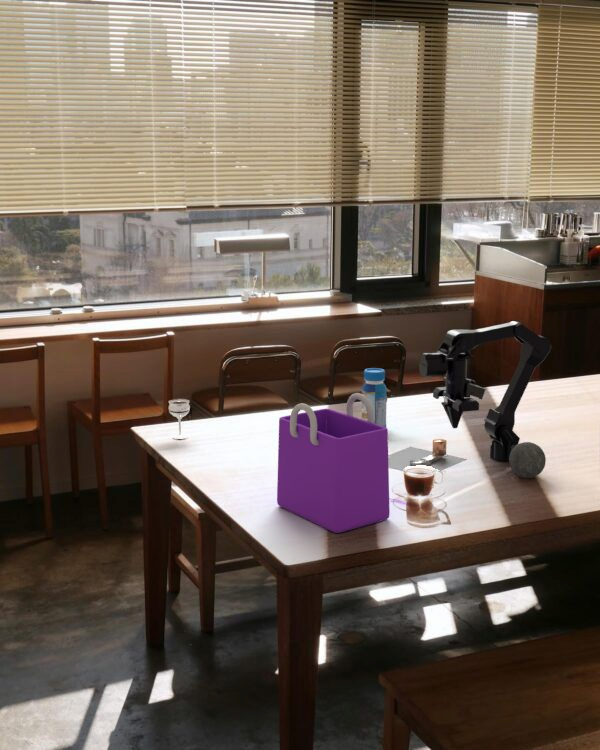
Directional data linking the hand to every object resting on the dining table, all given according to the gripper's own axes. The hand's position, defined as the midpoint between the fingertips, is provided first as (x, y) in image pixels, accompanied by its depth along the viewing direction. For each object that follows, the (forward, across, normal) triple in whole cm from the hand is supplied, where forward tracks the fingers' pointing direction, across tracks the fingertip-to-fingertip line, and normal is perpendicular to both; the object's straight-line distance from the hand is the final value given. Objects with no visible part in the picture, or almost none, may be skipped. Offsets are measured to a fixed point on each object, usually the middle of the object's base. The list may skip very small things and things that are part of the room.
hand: (454, 428), depth 293 cm
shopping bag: (+12, -25, +45) cm, 53 cm away
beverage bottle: (+12, +44, +8) cm, 46 cm away
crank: (+11, +4, +6) cm, 13 cm away
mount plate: (+12, +6, +9) cm, 16 cm away
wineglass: (+12, +54, +70) cm, 89 cm away
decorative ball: (+12, -14, -16) cm, 24 cm away
